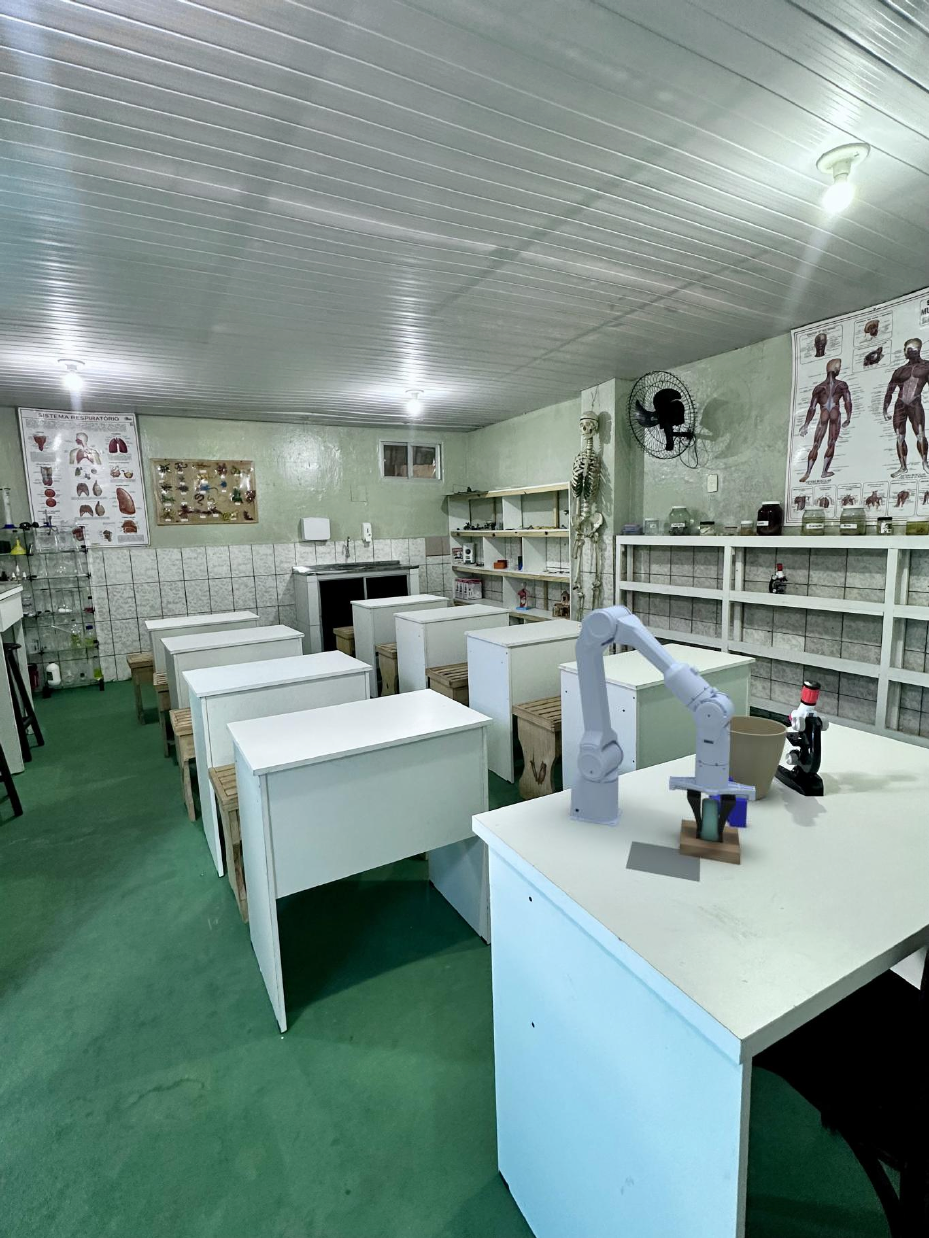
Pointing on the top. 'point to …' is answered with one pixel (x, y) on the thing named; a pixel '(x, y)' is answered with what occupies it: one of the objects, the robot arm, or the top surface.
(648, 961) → the top surface
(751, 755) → the plant pot
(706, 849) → the socket block
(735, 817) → the cable clip
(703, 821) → the peg
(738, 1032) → the top surface
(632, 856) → the mat
